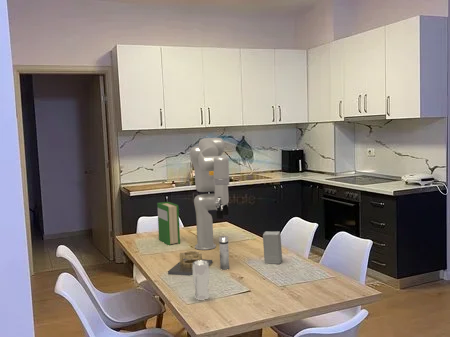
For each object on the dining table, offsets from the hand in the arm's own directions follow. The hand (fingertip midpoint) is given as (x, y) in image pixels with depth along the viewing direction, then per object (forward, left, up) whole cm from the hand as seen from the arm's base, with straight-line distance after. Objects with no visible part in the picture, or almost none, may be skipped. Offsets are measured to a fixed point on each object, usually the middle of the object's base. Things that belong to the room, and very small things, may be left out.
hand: (222, 216), depth 223 cm
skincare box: (-14, +22, -27) cm, 37 cm away
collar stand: (+2, -17, -26) cm, 31 cm away
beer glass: (+40, +1, -27) cm, 48 cm away
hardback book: (-48, -49, -27) cm, 74 cm away
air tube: (0, 0, -26) cm, 26 cm away
